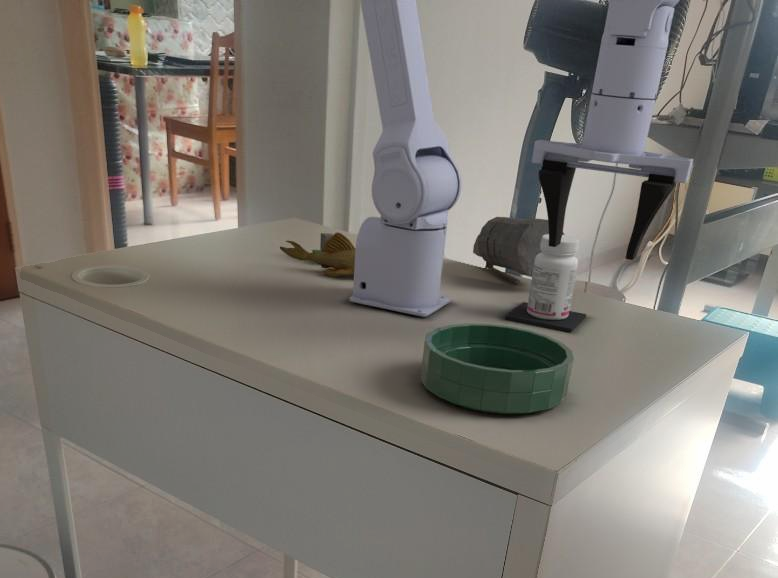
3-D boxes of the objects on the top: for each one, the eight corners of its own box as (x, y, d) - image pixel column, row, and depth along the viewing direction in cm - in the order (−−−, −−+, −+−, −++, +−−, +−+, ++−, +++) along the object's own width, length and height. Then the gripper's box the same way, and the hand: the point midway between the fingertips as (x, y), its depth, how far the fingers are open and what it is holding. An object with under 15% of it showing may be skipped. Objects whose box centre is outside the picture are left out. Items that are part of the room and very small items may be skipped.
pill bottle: (553, 307, 98) (567, 232, 93) (576, 320, 94) (591, 242, 89) (518, 309, 96) (530, 232, 92) (539, 321, 92) (553, 242, 88)
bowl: (397, 395, 71) (401, 350, 69) (450, 355, 81) (455, 314, 79) (542, 431, 67) (551, 384, 65) (579, 384, 77) (588, 342, 75)
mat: (504, 319, 94) (505, 315, 93) (522, 305, 99) (523, 301, 99) (571, 332, 91) (571, 328, 91) (585, 317, 97) (586, 314, 96)
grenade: (512, 288, 102) (457, 273, 115) (568, 290, 105) (509, 275, 118) (521, 218, 99) (464, 211, 112) (579, 222, 102) (517, 214, 115)
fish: (378, 288, 102) (383, 247, 100) (272, 266, 104) (274, 225, 101) (386, 277, 106) (392, 237, 104) (284, 256, 108) (287, 216, 105)
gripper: (534, 89, 75) (510, 246, 82) (700, 106, 70) (660, 271, 77) (554, 88, 80) (529, 234, 87) (709, 104, 76) (671, 258, 83)
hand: (591, 251), depth 83 cm, fingers open, 7 cm apart
